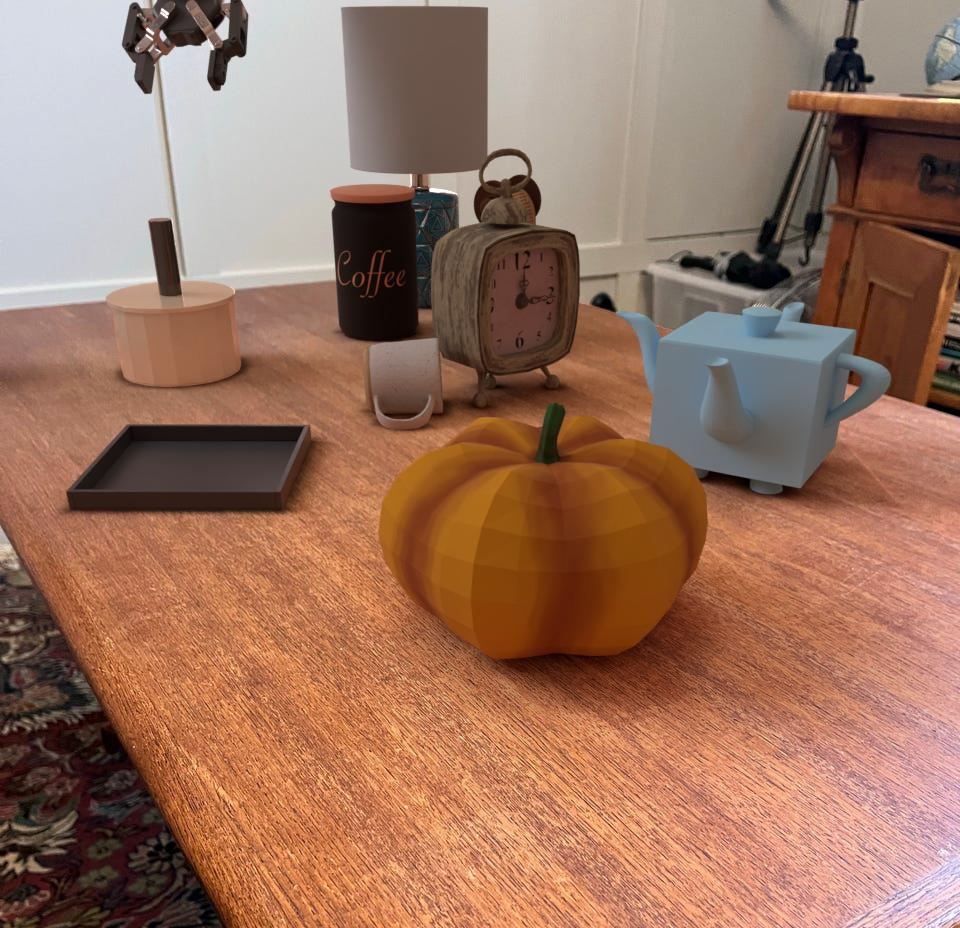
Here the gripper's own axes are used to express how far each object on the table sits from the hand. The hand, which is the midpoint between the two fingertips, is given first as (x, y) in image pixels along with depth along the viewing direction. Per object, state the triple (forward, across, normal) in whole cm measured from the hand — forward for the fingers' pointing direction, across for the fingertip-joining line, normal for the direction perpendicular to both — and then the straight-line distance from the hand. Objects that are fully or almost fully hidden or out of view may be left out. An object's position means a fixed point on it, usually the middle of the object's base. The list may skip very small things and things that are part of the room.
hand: (178, 87), depth 116 cm
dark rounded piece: (+19, +36, +26) cm, 48 cm away
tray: (+50, +15, -13) cm, 54 cm away
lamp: (+5, +20, +42) cm, 46 cm away
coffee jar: (+17, +18, +27) cm, 37 cm away
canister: (+30, -1, +10) cm, 32 cm away
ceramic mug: (+38, +30, +3) cm, 49 cm away
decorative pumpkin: (+65, +49, -28) cm, 86 cm away
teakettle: (+46, +63, -3) cm, 78 cm away
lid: (+23, 0, +5) cm, 24 cm away
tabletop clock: (+32, +38, +10) cm, 51 cm away
